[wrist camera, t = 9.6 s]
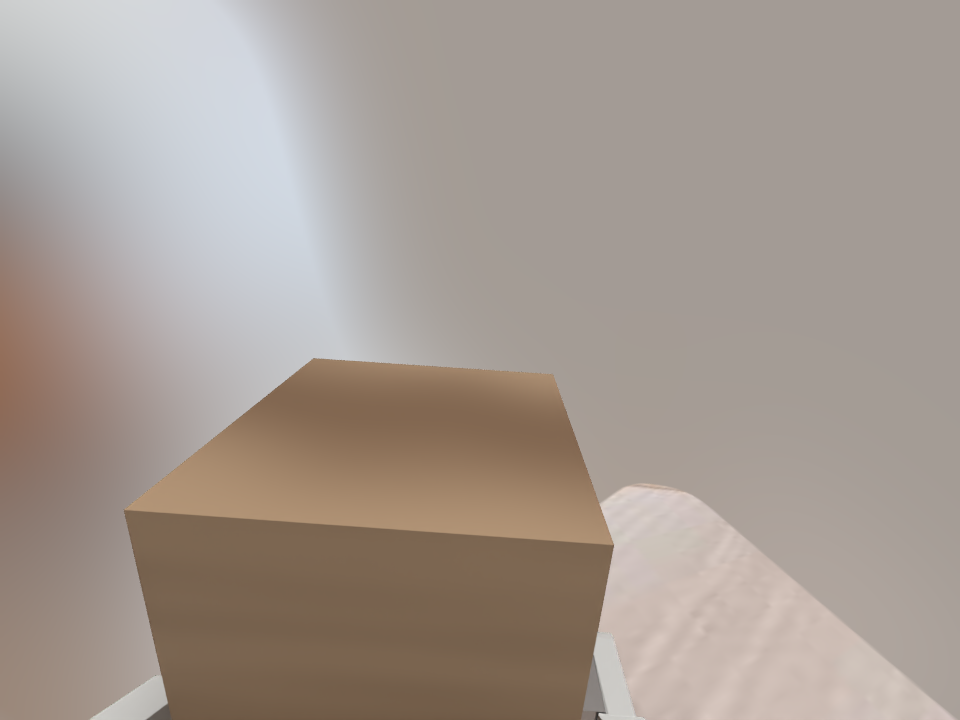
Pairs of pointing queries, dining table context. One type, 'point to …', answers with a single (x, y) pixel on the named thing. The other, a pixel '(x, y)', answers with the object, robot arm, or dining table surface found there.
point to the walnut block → (379, 553)
